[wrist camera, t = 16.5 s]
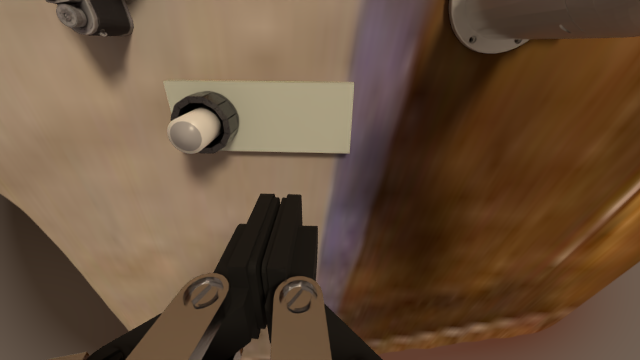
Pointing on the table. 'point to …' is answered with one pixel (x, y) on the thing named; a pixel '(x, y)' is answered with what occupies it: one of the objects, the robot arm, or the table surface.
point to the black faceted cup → (222, 109)
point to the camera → (95, 16)
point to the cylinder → (195, 129)
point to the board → (281, 113)
